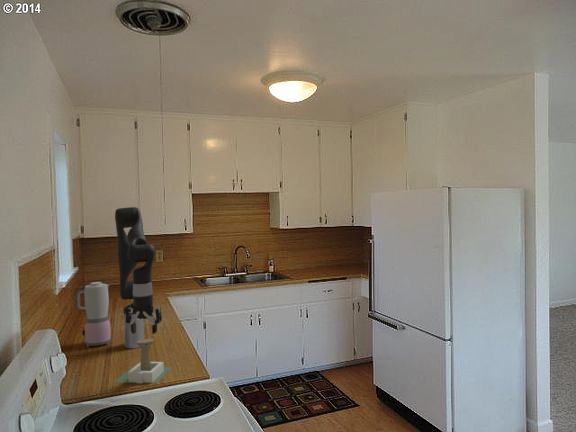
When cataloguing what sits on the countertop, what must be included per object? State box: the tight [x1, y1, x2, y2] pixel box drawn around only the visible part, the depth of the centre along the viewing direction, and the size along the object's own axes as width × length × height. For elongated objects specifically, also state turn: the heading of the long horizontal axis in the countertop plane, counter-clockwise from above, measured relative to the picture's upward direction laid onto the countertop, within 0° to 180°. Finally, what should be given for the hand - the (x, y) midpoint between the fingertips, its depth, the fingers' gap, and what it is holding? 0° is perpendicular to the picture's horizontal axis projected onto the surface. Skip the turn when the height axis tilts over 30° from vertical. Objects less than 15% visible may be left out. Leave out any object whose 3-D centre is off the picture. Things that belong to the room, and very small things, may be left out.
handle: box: [137, 338, 155, 371], centre depth 170 cm, size 5×6×15 cm
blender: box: [75, 281, 112, 348], centre depth 216 cm, size 16×12×32 cm
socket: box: [128, 361, 165, 384], centre depth 171 cm, size 12×10×4 cm
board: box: [113, 366, 173, 384], centre depth 174 cm, size 16×18×1 cm
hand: (144, 333), depth 170 cm, fingers open, 8 cm apart
